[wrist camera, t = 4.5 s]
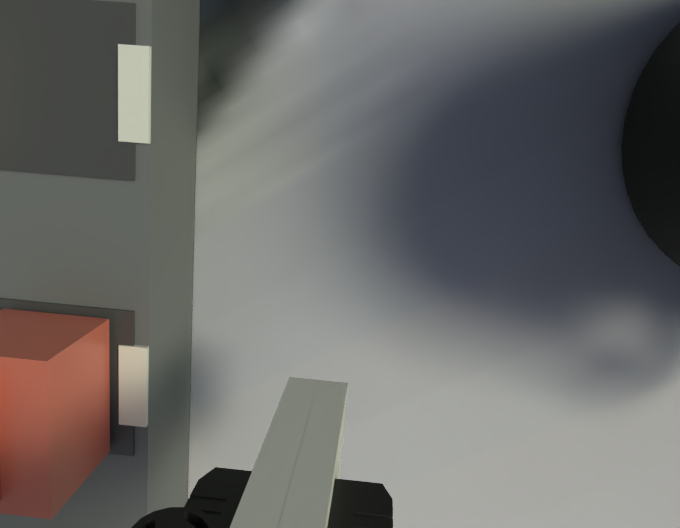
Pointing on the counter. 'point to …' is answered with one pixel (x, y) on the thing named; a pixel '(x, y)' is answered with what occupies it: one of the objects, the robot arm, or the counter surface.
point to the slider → (51, 408)
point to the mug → (656, 147)
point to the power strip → (107, 220)
